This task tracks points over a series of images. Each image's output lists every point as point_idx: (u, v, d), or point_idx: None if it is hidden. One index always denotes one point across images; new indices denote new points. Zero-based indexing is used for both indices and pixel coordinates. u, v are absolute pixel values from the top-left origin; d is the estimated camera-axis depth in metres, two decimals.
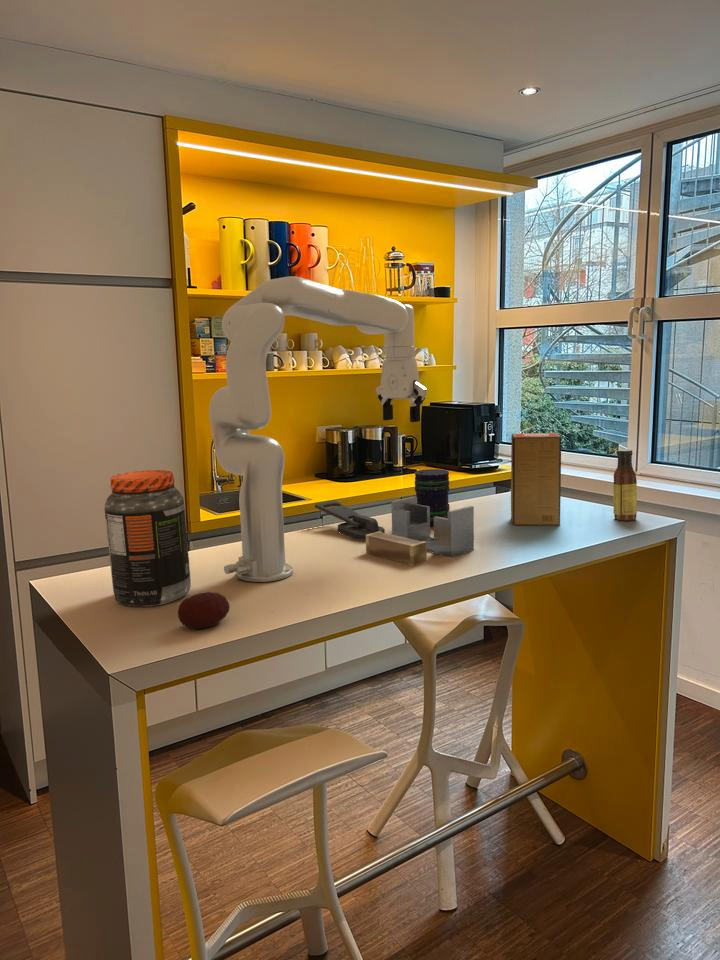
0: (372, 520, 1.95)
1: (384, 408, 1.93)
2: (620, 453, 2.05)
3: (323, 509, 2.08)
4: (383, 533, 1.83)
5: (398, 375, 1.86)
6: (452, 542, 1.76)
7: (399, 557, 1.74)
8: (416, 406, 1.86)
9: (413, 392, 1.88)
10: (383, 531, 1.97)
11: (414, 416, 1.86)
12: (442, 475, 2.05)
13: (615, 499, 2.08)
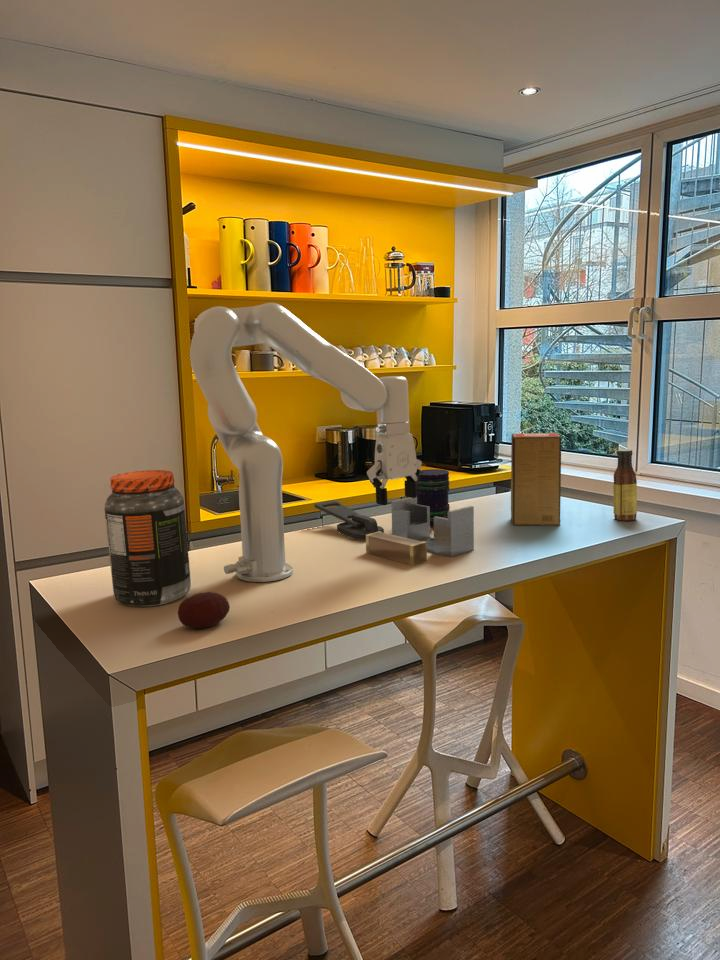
0: (371, 520, 1.95)
1: None
2: (620, 453, 2.05)
3: (322, 509, 2.09)
4: (383, 533, 1.83)
5: (408, 451, 1.73)
6: (452, 542, 1.76)
7: (399, 557, 1.74)
8: None
9: None
10: (382, 531, 1.97)
11: None
12: (442, 475, 2.05)
13: (615, 499, 2.08)
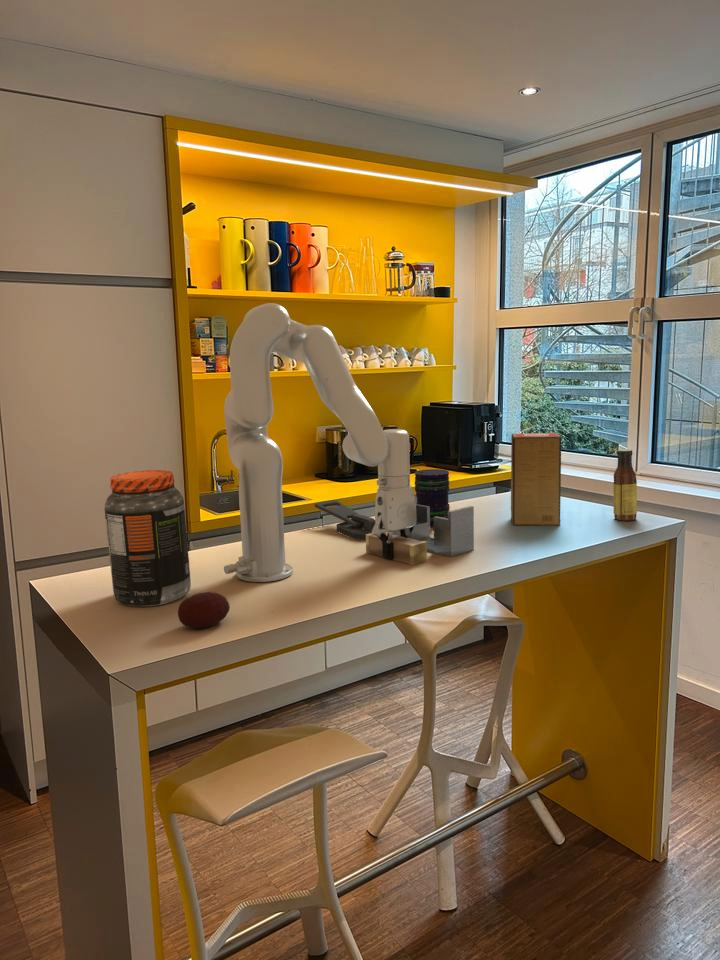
0: (370, 519, 1.96)
1: (392, 546, 1.75)
2: (620, 453, 2.05)
3: (323, 508, 2.09)
4: None
5: (408, 503, 1.75)
6: (452, 542, 1.76)
7: (399, 557, 1.74)
8: None
9: None
10: None
11: None
12: (442, 475, 2.05)
13: (615, 499, 2.08)
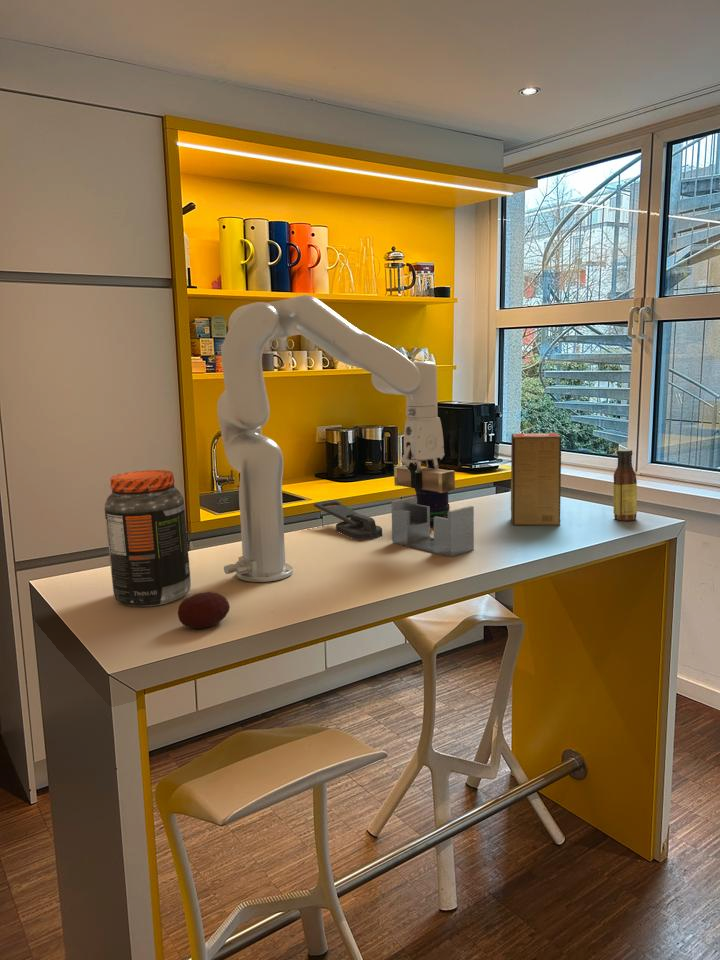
0: (369, 519, 1.96)
1: (421, 476, 1.79)
2: (620, 453, 2.05)
3: (322, 508, 2.10)
4: None
5: (436, 434, 1.79)
6: (452, 542, 1.76)
7: (427, 486, 1.78)
8: None
9: None
10: (381, 530, 1.98)
11: None
12: None
13: (615, 499, 2.08)
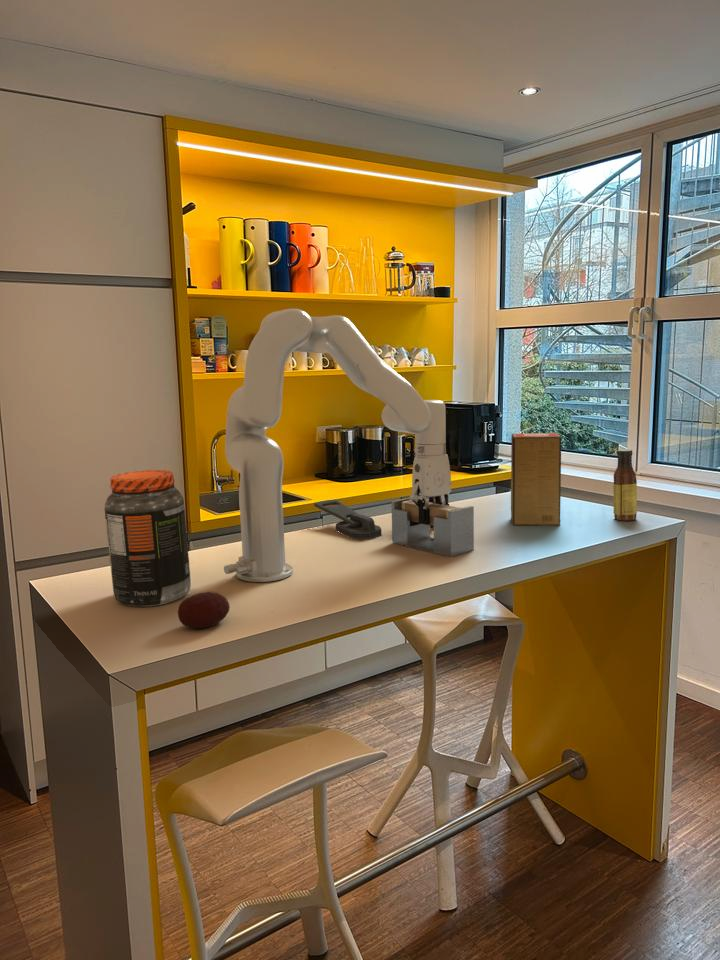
0: (368, 519, 1.97)
1: None
2: (620, 453, 2.05)
3: (322, 508, 2.10)
4: None
5: (444, 471, 1.82)
6: (452, 542, 1.76)
7: None
8: None
9: None
10: (380, 530, 1.98)
11: None
12: None
13: (615, 499, 2.08)
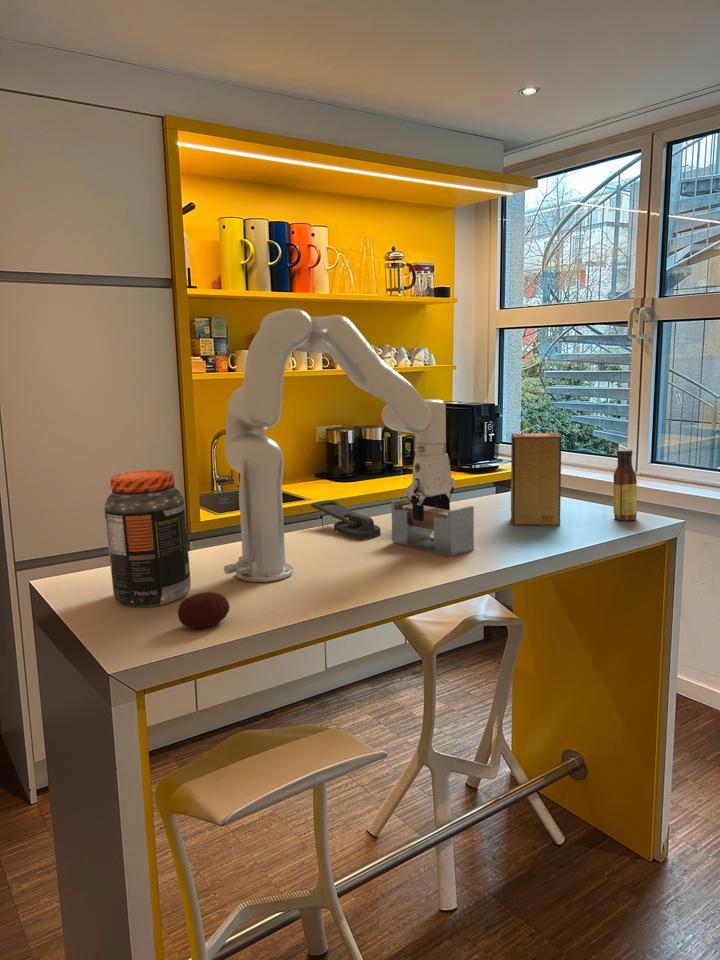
0: (368, 519, 1.97)
1: (423, 508, 1.81)
2: (620, 453, 2.05)
3: (319, 508, 2.10)
4: None
5: (444, 470, 1.82)
6: (452, 542, 1.76)
7: None
8: None
9: None
10: (379, 530, 1.99)
11: None
12: None
13: (615, 499, 2.08)
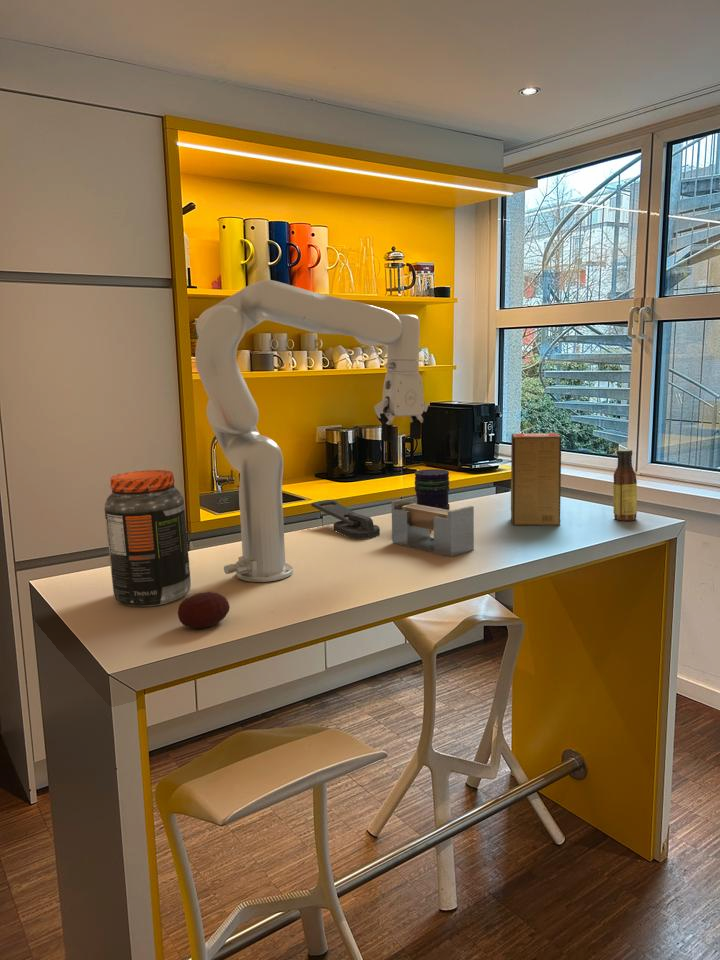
0: (367, 518, 1.97)
1: (392, 428, 1.72)
2: (620, 453, 2.05)
3: (319, 508, 2.10)
4: (418, 505, 1.90)
5: (416, 390, 1.74)
6: (452, 542, 1.76)
7: None
8: None
9: None
10: (378, 529, 1.99)
11: None
12: (442, 475, 2.05)
13: (615, 499, 2.08)
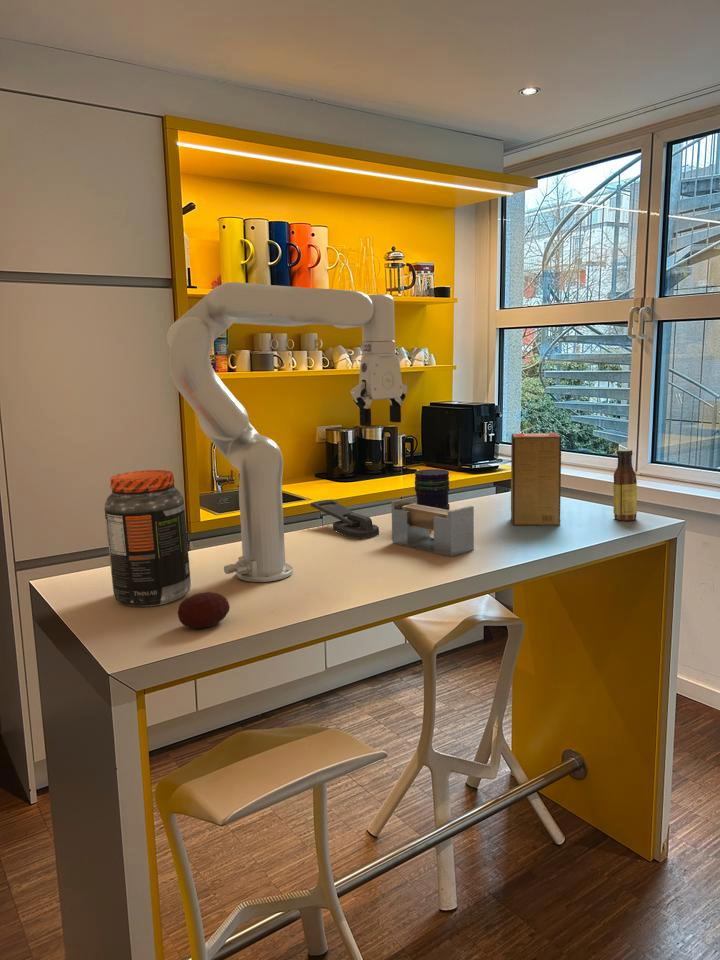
0: (366, 518, 1.97)
1: (370, 412, 1.68)
2: (620, 453, 2.05)
3: (319, 507, 2.11)
4: (418, 505, 1.90)
5: (394, 372, 1.70)
6: (452, 542, 1.76)
7: None
8: None
9: None
10: (378, 529, 1.99)
11: None
12: (442, 475, 2.05)
13: (615, 499, 2.08)
